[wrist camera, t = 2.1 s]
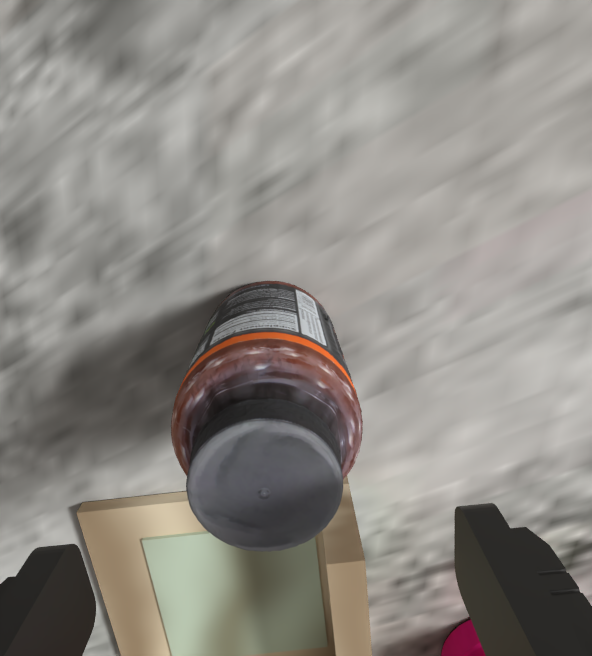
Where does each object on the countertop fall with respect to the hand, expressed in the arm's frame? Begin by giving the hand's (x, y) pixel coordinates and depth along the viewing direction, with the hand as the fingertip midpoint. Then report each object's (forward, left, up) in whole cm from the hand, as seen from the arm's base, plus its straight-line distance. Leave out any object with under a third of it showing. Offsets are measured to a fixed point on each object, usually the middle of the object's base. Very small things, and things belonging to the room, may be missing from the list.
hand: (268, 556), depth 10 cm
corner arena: (-4, -15, -13) cm, 20 cm away
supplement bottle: (0, 0, -13) cm, 13 cm away
